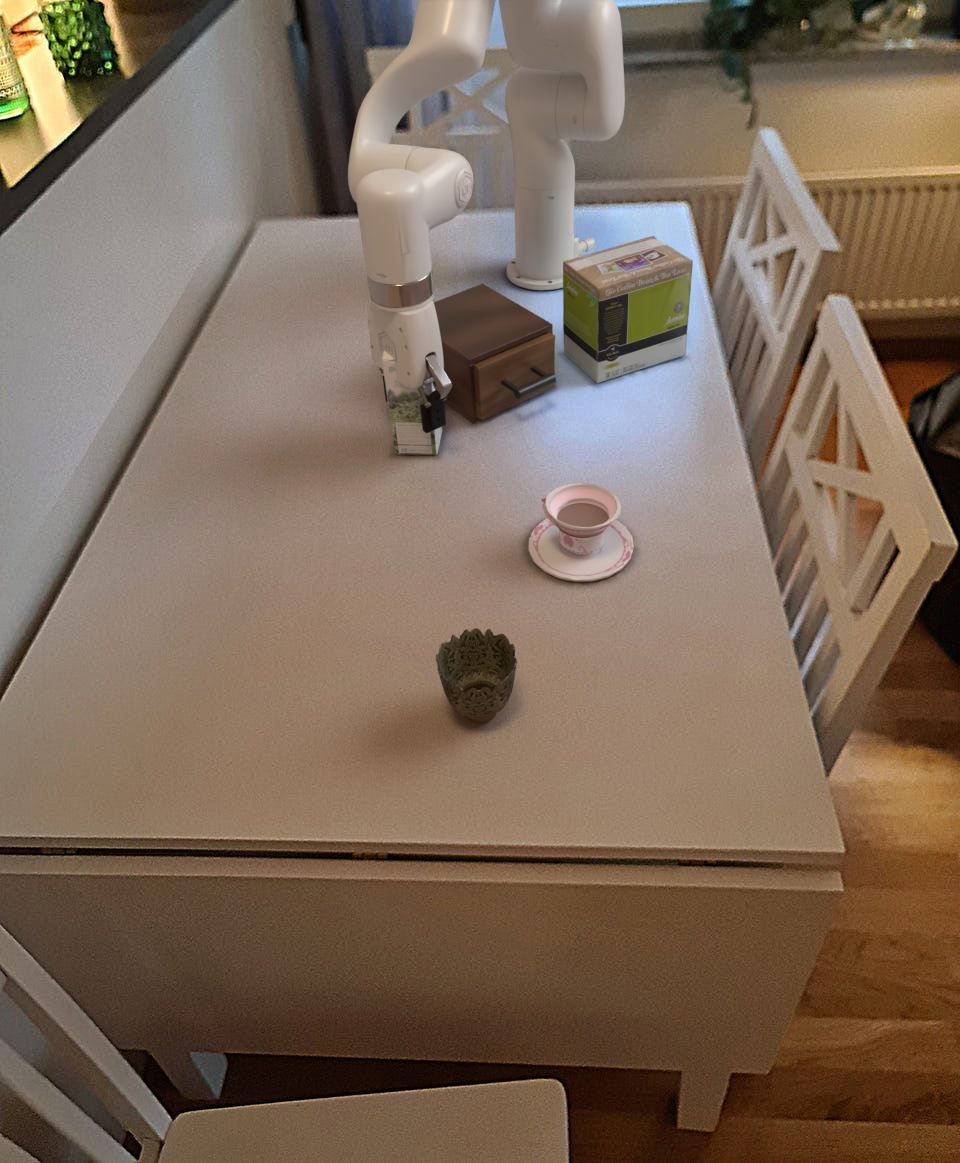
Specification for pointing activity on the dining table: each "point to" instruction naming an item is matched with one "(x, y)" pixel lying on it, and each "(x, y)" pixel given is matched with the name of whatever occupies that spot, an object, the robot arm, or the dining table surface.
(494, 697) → the cup
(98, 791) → the dining table surface
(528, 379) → the drawer
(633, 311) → the tea box
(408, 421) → the syrup box
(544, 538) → the teacup
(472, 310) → the cabinet
